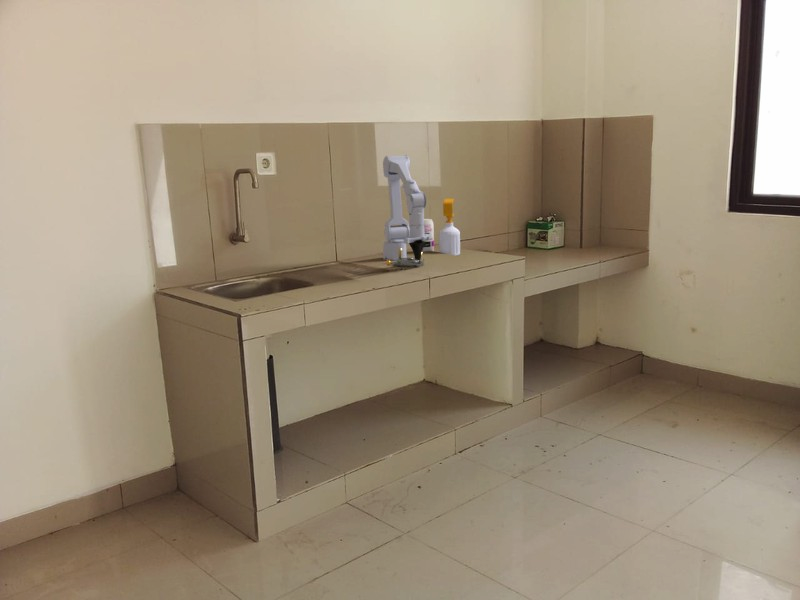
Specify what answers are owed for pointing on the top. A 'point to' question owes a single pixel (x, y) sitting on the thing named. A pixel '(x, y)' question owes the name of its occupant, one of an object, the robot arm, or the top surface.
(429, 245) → the supplement can
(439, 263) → the top surface
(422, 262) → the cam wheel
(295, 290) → the top surface
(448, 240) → the soap bottle
